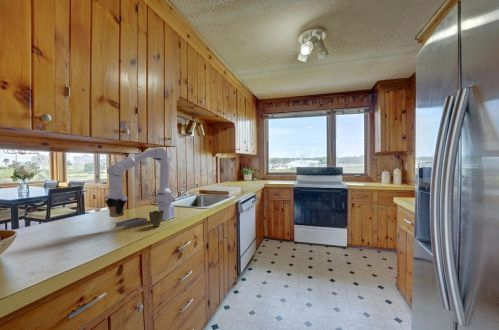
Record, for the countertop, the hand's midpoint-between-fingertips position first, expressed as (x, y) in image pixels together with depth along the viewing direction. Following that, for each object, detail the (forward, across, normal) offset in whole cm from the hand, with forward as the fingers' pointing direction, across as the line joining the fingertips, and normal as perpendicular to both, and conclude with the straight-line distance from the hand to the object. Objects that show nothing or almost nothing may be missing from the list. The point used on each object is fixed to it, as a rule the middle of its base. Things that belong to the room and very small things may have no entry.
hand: (116, 213), depth 114 cm
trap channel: (+8, 0, +9) cm, 12 cm away
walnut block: (+1, 0, 0) cm, 1 cm away
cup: (+9, +15, +12) cm, 21 cm away
